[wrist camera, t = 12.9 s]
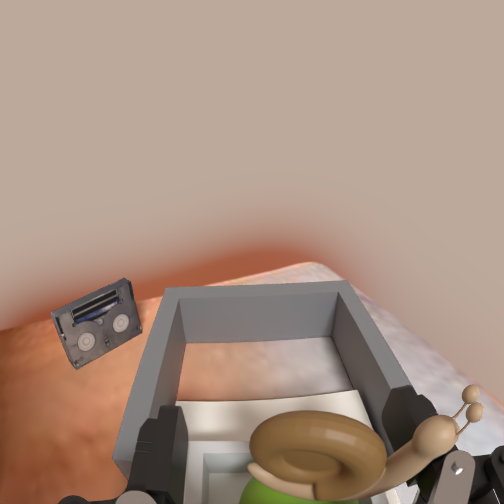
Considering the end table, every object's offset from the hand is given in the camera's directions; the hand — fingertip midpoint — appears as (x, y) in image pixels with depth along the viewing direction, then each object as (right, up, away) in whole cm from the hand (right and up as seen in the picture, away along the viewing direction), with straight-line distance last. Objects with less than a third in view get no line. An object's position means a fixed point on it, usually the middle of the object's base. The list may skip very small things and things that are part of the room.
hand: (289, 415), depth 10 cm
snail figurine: (+1, -8, +1) cm, 8 cm away
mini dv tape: (-16, -3, +17) cm, 23 cm away
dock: (0, -5, +12) cm, 13 cm away
